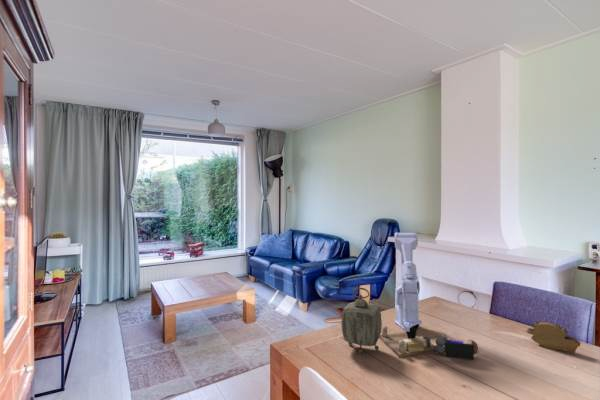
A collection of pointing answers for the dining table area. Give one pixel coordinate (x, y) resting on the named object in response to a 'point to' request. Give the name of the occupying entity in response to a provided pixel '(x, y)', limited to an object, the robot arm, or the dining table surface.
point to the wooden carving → (553, 337)
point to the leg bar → (424, 339)
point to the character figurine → (456, 348)
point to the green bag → (361, 322)
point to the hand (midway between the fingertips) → (411, 342)
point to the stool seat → (398, 344)
